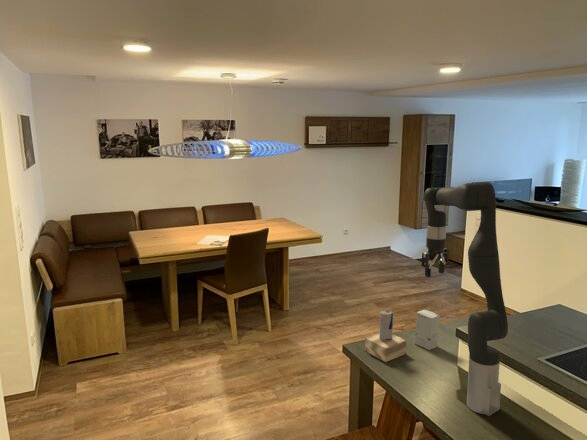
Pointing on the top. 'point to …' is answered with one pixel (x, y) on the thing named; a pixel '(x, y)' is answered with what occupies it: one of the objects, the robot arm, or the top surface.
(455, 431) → the top surface
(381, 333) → the energy drink
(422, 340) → the skincare box
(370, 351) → the birch block
